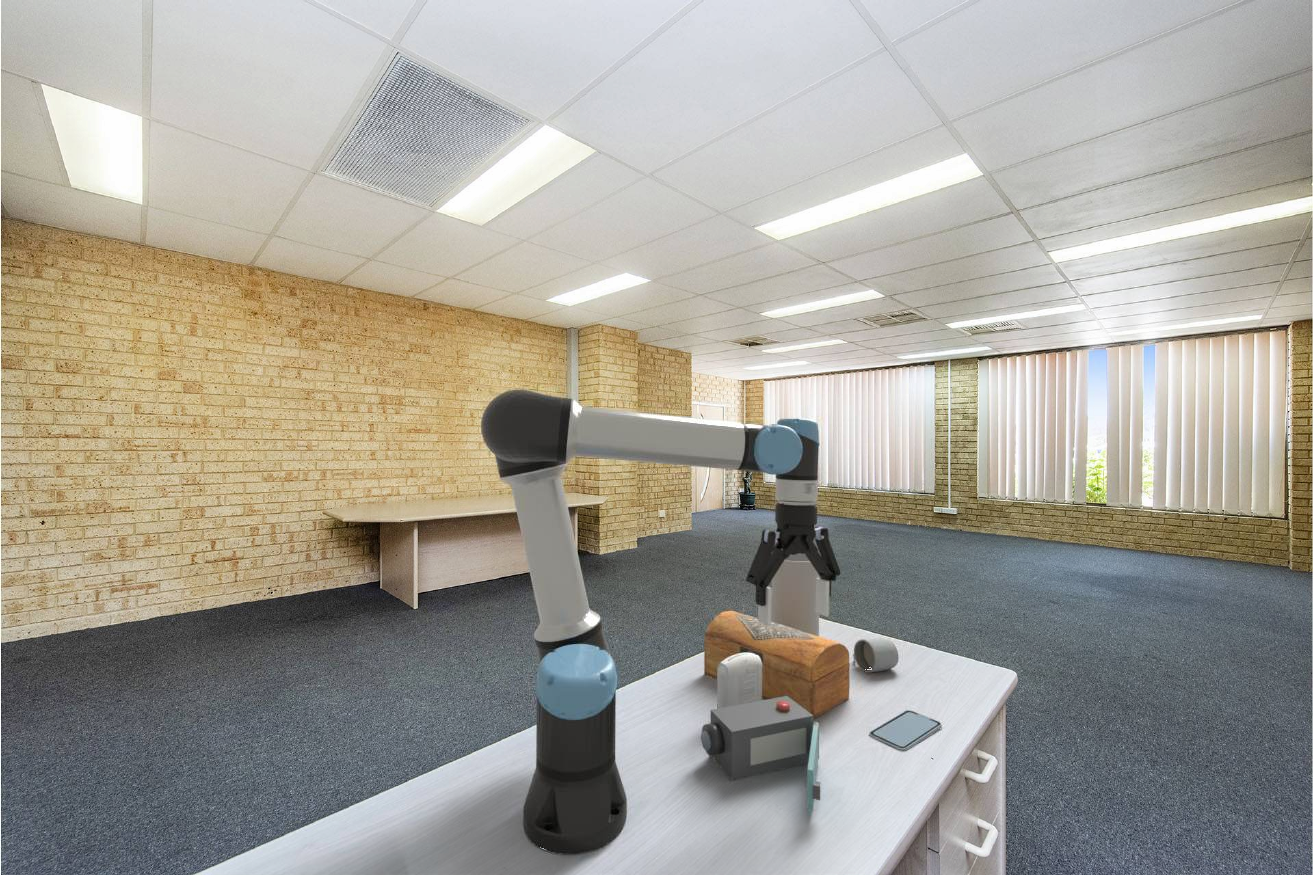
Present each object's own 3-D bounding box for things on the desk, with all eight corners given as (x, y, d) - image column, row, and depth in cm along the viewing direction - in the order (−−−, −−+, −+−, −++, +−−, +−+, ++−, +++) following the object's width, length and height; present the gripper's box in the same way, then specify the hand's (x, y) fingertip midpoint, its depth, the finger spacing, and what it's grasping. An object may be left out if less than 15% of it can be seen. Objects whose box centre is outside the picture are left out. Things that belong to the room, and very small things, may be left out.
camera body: (717, 783, 89) (717, 729, 89) (697, 757, 97) (697, 707, 97) (813, 761, 95) (813, 711, 96) (787, 738, 103) (787, 691, 103)
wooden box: (699, 675, 131) (700, 617, 131) (743, 658, 142) (744, 604, 142) (808, 724, 109) (808, 654, 109) (850, 698, 120) (851, 635, 120)
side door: (819, 813, 80) (820, 772, 81) (806, 810, 81) (806, 770, 81) (824, 758, 95) (824, 723, 95) (813, 756, 95) (813, 721, 95)
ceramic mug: (901, 672, 133) (900, 640, 134) (875, 677, 130) (874, 645, 131) (869, 657, 143) (869, 628, 143) (844, 662, 140) (844, 631, 140)
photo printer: (750, 704, 117) (751, 646, 117) (765, 712, 113) (765, 652, 113) (713, 717, 111) (713, 656, 111) (727, 726, 107) (727, 663, 107)
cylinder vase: (790, 637, 157) (791, 550, 157) (828, 650, 147) (828, 557, 148) (762, 647, 149) (762, 555, 150) (799, 661, 140) (799, 563, 140)
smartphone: (866, 733, 105) (907, 708, 114) (866, 737, 105) (907, 713, 114) (903, 750, 99) (943, 723, 108) (903, 755, 99) (943, 728, 108)
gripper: (753, 506, 91) (751, 634, 91) (861, 502, 103) (859, 616, 102) (728, 502, 98) (725, 620, 98) (831, 499, 110) (829, 605, 109)
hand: (794, 618), depth 100 cm, fingers open, 13 cm apart
